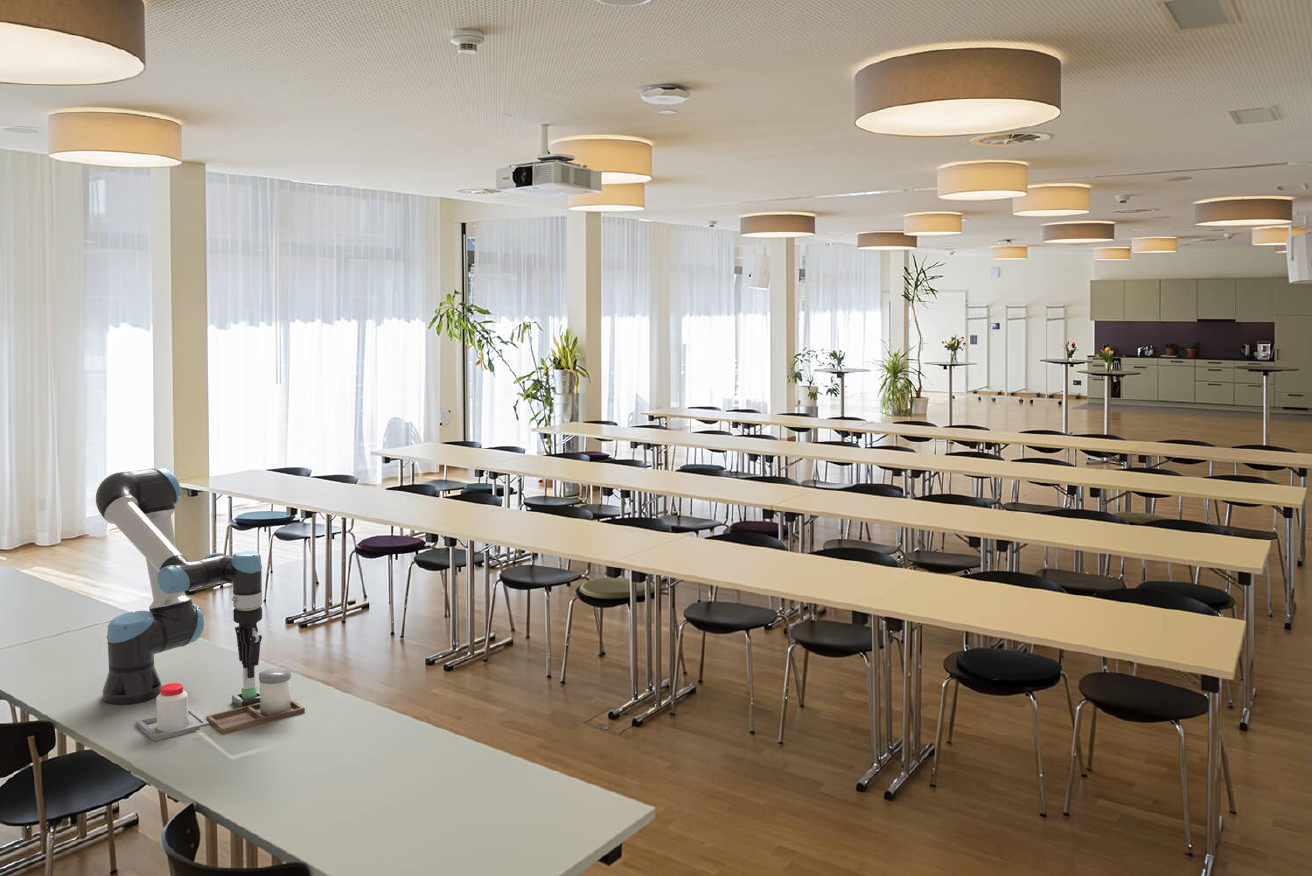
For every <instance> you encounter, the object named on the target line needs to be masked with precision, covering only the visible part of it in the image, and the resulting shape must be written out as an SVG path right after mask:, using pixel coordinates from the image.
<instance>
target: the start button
mask: <svg viewBox="0 0 1312 876" xmlns="http://www.w3.org/2000/svg"><path fill="white" fill-rule="evenodd" d="M257 688H258V687H257V686H255V688H251V689H246V690H245V689H244V688H243V687H242V688H241V692H242V699H243V700H246V699H250V698H254V697H257V690H258V689H257Z"/></svg>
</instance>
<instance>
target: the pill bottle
mask: <svg viewBox="0 0 1312 876" xmlns="http://www.w3.org/2000/svg"><path fill="white" fill-rule="evenodd" d="M160 689H161V693H160V694H159V695H158V696H156V697H155V709H156V712H155V713H156V716H157V721H156V729H157V731H158V732H159V731H160V732H162V733H165V732H169V731H173V730H177V729H181V728H185V727H189V724H190V720H189V719H190V718H189V716H190V712H189V711H188V708H189V693H188V692H187V691H186V690H184V684H183V683H178V682H171V683H166V684H164V685H162V687H161V688H160Z"/></svg>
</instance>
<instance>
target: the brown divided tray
mask: <svg viewBox="0 0 1312 876" xmlns="http://www.w3.org/2000/svg"><path fill="white" fill-rule="evenodd" d="M305 712H306V708H305V707H304V706H302V705H301V704H299V703H298V702H296V701H295V700H294V699H292V698H291V710H290V711H287V712H283V713H279V714H275V715H271V716H263V715H262V714H260V703H256V704H252V705H248V706H244V707H240V708H239V707H237V708H236V707H235V708H233V709H229V710H225V711H221V712H217V713H213V714H209V715H208V714H207V715H206V718H205V720H207V721H208V722H209V723H210V724H209V725H212V726H213V727H214V728H216V729H217V730H218V731H219V732H220V733H222V735H223V734H227V733H231V732H235V731H239V730H242V729H246V728H251V727H254V726H258V725H263V724H266V723H268V722H273V721H278V720H281V719H284V718H287V717H288V718H289V717H292V716H295V715H299V714H304V713H305Z"/></svg>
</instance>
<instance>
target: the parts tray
mask: <svg viewBox="0 0 1312 876" xmlns="http://www.w3.org/2000/svg"><path fill="white" fill-rule="evenodd" d="M188 712H189V714H191V715H193V717H195V718H196V719H197V720H198V721H200V722H201V723H198V724H193V725H190V726H189V725H188V726H187V727H185V728H181V729H177V730H173V731H169V732H162V733H158V734H157V733H156V732H155V731H153V730H152V728H150V727H149V726H148V725H147V724H150V723H156V722H157V715H154V716H148V717H144V718H141V719H137V720H136V721H135V723H136V724H135V725H136V726H137V727H138V728H139V729H140V730H141V731H143V733H145V734H146V735H147V736H148V738H150V739H151V740H152V741H154V742H156V741H160V740H164V739H168V738H172V737H176V736H179V735H180V734H181V735H183V733H184V734H188V733H192V732H195V731H200V730H201V728H200V727H204V726H208V725H211V724H210V723H209V722H208V721H207V720H206V718H204V717H203V716H201V715H200V714H199V713H198V712H197V711H195V709H193V708H192V707H188Z"/></svg>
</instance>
